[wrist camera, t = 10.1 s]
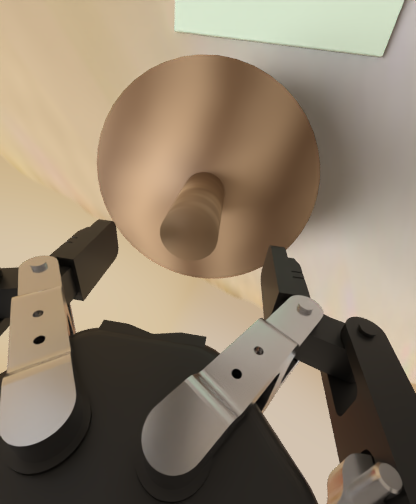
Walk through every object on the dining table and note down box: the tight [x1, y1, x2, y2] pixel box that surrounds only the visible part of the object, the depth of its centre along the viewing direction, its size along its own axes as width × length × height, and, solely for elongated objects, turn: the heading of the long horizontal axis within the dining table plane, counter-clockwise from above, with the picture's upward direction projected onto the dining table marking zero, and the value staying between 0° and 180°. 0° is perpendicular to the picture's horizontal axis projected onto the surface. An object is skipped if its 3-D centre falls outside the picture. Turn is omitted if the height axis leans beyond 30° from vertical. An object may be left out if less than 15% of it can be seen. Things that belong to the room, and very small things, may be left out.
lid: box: [97, 55, 320, 278], centre depth 17 cm, size 17×17×8 cm
